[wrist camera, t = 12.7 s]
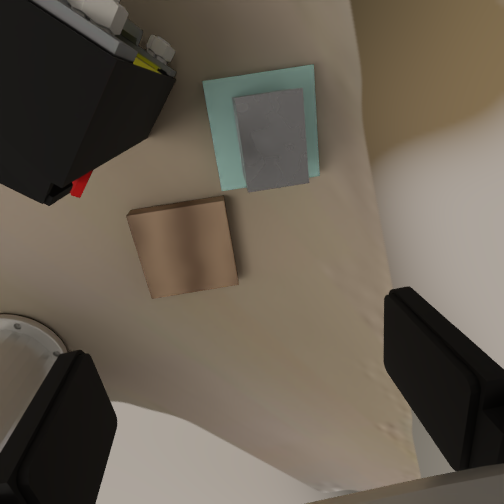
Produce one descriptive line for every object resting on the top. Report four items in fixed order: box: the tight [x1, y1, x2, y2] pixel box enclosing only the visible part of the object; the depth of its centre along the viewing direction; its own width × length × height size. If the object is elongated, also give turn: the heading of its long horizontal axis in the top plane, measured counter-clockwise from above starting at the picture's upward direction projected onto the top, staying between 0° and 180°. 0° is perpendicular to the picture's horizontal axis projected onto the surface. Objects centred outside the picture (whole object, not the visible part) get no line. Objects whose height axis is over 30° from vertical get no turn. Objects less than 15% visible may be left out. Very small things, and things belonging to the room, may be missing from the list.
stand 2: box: [202, 64, 320, 191], centre depth 33 cm, size 10×10×2 cm
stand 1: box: [126, 195, 239, 299], centre depth 38 cm, size 10×10×2 cm
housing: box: [232, 88, 309, 192], centre depth 29 cm, size 7×5×7 cm
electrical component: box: [0, 0, 176, 206], centre depth 21 cm, size 18×10×20 cm, turn 58°
